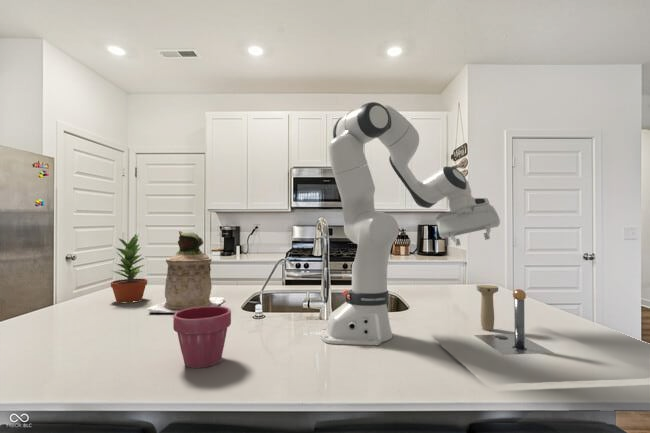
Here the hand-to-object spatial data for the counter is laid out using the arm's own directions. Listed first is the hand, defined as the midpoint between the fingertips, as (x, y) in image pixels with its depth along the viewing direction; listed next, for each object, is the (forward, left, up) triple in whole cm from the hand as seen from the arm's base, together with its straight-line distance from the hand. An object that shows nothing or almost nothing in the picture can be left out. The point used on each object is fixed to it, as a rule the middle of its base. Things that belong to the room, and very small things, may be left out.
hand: (472, 241), depth 124 cm
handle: (+2, -7, -29) cm, 30 cm away
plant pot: (-83, -23, -29) cm, 91 cm away
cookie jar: (-104, +38, -29) cm, 115 cm away
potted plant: (-134, +51, -29) cm, 147 cm away
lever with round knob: (+2, -24, -28) cm, 36 cm away
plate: (+2, -20, -29) cm, 35 cm away
